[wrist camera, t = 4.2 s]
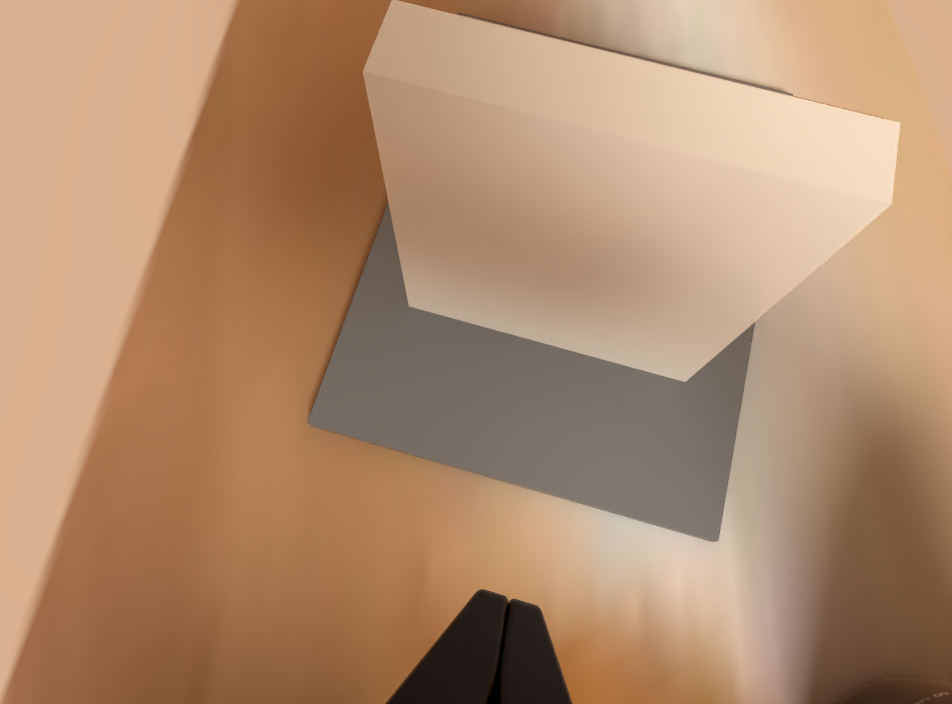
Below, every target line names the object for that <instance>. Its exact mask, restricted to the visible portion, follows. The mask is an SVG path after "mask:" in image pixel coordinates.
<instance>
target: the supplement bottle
mask: <svg viewBox="0 0 952 704" xmlns="http://www.w3.org/2000/svg"><path fill="white" fill-rule="evenodd" d="M839 704H952V683H948V682H943V681H938V680H934V679H929V678H922V677H913V676H899V677H890V678H885V679H881V680H878V681H875V682H872V683H869V684H867V685H865V686H862V687H860V688H859V689H857V690H855V691H854V692H852V693H851V694H849V695H848V696H847V697H846V698H845V699H843V700H842V701H841V702H840V703H839Z"/></svg>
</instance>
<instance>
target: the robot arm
mask: <svg viewBox="0 0 952 704" xmlns="http://www.w3.org/2000/svg"><path fill="white" fill-rule="evenodd" d="M386 704H572V701H571V698H570V695H569V692H568V689H567V686H566V683H565V680H564V677H563V674H562V671H561V668H560V665H559V662H558V659H557V656H556V653H555V650H554V647H553V644H552V641H551V638H550V635H549V632H548V629H547V626H546V623H545V620H544V617H543V614H542V611H541V609H540V608H539V607H538V606H536V605H534V604H530V603H527V602H524V601H520V600H517V599H512V600H510V601H509V602H508V599H507V597H506V596H504V595H500V594H497V593H494V592H490V591H487V590H483V589H481V590H479V591H477V592H476V593H475V594H474V595H473V597H472V598H471V599H470V600H469V602H468V603H467V604H466V605H465V607H464V608H463V609H462V610H461V611H460V613H459V614H458V615H457V616H456V618H455V619H454V620H453V621H452V623H451V624H450V625H449V626H448V627H447V629H446V630H445V631H444V632H443V634H442V635H441V636H440V637H439V638H438V640H437V641H436V642H435V643H434V645H433V646H432V647H431V648H430V650H429V651H428V652H427V653H426V654H425V656H424V657H423V658H422V659H421V661H420V662H419V663H418V664H417V666H416V667H415V668H414V669H413V670H412V672H411V673H410V674H409V675H408V677H407V678H406V679H405V680H404V681H403V683H402V684H401V685H400V686H399V688H398V689H397V690H396V691H395V693H394V694H393V695H392V696H391V697H390V699H389V700H388V701H387V702H386Z"/></svg>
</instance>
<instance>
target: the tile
mask: <svg viewBox="0 0 952 704" xmlns="http://www.w3.org/2000/svg"><path fill="white" fill-rule="evenodd" d="M363 75H364V81H365V86H366V91H367V96H368V101H369V106H370V111H371V116H372V121H373V126H374V131H375V136H376V142H377V147H378V152H379V157H380V162H381V167H382V172H383V177H384V182H385V187H386V192H387V198H388V203H389V208H390V213H391V218H392V223H393V228H394V233H395V238H396V243H397V248H398V253H399V259H400V264H401V269H402V274H403V279H404V284H405V289H406V294H407V299H408V304H409V307H413V308H417V309H420V310H424V311H428V312H431V313H435V314H439V315H442V316H446V317H449V318H453V319H457V320H460V321H464V322H468V323H471V324H475V325H479V326H482V327H486V328H490V329H493V330H497V331H501V332H504V333H508V334H512V335H515V336H519V337H522V338H526V339H530V340H533V341H537V342H541V343H544V344H548V345H552V346H555V347H559V348H563V349H566V350H570V351H574V352H577V353H581V354H585V355H588V356H592V357H595V358H599V359H603V360H606V361H610V362H614V363H617V364H621V365H625V366H628V367H632V368H636V369H639V370H643V371H647V372H650V373H654V374H658V375H661V376H665V377H668V378H672V379H676V380H679V381H683V382H686V381H687V380H688V379H689V378H690V377H692V376H693V375H694V374H695V373H696V372H697V371H699V370H700V369H701V368H702V367H703V366H704V365H705V364H707V363H708V362H709V361H710V360H711V359H712V358H714V357H715V356H716V355H717V354H718V353H719V352H721V351H722V350H723V349H724V348H725V347H726V346H728V345H729V344H730V343H731V342H732V341H733V340H735V339H736V338H737V337H738V336H739V335H740V334H741V333H743V332H744V331H745V330H746V329H747V328H748V327H750V326H751V325H752V324H753V323H754V322H755V321H757V320H758V319H759V318H760V317H761V316H762V315H764V314H765V313H766V312H767V311H768V310H769V309H771V308H772V307H773V306H774V305H775V304H776V303H777V302H779V301H780V300H781V299H782V298H783V297H784V296H786V295H787V294H788V293H789V292H790V291H791V290H793V289H794V288H795V287H796V286H797V285H798V284H800V283H801V282H802V281H803V280H804V279H805V278H807V277H808V276H809V275H810V274H811V273H812V272H813V271H815V270H816V269H817V268H818V267H819V266H820V265H822V264H823V263H824V262H825V261H826V260H827V259H829V258H830V257H831V256H832V255H833V254H834V253H836V252H837V251H838V250H839V249H840V248H841V247H843V246H844V245H845V244H846V243H847V242H848V241H849V240H851V239H852V238H853V237H854V236H855V235H856V234H858V233H859V232H860V231H861V230H862V229H863V228H865V227H866V226H867V225H868V224H869V223H870V222H872V221H873V220H874V219H875V218H876V217H877V216H879V215H880V214H881V213H882V212H883V211H884V210H885V209H887V208H888V207H889V206H890V205H891V204H892V196H893V187H894V177H895V168H896V159H897V149H898V140H899V131H900V123H899V122H895V121H891V120H887V119H884V118H881V117H877V116H873V115H869V114H865V113H861V112H856V111H852V110H848V109H844V108H840V107H836V106H832V105H828V104H824V103H819V102H815V101H811V100H807V99H803V98H799V97H795V96H791V95H787V94H783V93H778V92H774V91H770V90H766V89H762V88H758V87H754V86H750V85H746V84H741V83H737V82H733V81H729V80H725V79H721V78H717V77H713V76H709V75H704V74H700V73H696V72H692V71H688V70H684V69H680V68H676V67H672V66H667V65H663V64H659V63H655V62H651V61H647V60H643V59H639V58H635V57H631V56H626V55H622V54H618V53H614V52H610V51H606V50H602V49H598V48H594V47H589V46H585V45H581V44H577V43H573V42H569V41H565V40H561V39H557V38H552V37H548V36H544V35H540V34H536V33H532V32H528V31H524V30H520V29H515V28H511V27H507V26H503V25H499V24H495V23H491V22H487V21H483V20H478V19H474V18H470V17H466V16H462V15H458V14H454V13H450V12H446V11H442V10H437V9H433V8H429V7H425V6H421V5H417V4H413V3H409V2H402V1H398V0H392V1H391V3H390V6H389V8H388V10H387V13H386V15H385V18H384V20H383V23H382V25H381V28H380V30H379V32H378V35H377V37H376V40H375V42H374V45H373V47H372V50H371V52H370V54H369V57H368V59H367V62H366V64H365V67H364V69H363Z"/></svg>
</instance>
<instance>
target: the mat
mask: <svg viewBox="0 0 952 704" xmlns="http://www.w3.org/2000/svg"><path fill="white" fill-rule="evenodd" d="M458 15H462V16H466V17H470V18H474V19H478V20H483V21H487V22H491V23H495V24H499V25H503V26H507V27H511V28H515V29H520V30H524V31H528V32H532V33H536V34H540V35H544V36H548V37H552V38H557V39H561V40H565V41H569V42H573V43H577V44H581V45H585V46H589V47H594V48H598V49H602V50H606V51H610V52H614V53H618V54H622V55H626V56H631V57H635V58H639V59H643V60H647V61H651V62H655V63H659V64H663V65H667V66H672V67H676V68H680V69H684V70H688V71H692V72H696V73H700V74H704V75H709V76H713V77H717V78H721V79H725V80H729V81H733V82H737V83H741V84H746V85H750V86H754V87H758V88H762V89H766V90H770V91H774V92H778V93H783V94H787V95H791V96H793V94H791V93H787V92H783V91H778V90H774V89H770V88H766V87H762V86H758V85H754V84H750V83H746V82H741V81H737V80H733V79H729V78H725V77H721V76H717V75H713V74H709V73H704V72H700V71H696V70H692V69H688V68H684V67H680V66H676V65H672V64H667V63H663V62H659V61H655V60H651V59H647V58H643V57H639V56H634V55H630V54H626V53H622V52H618V51H614V50H610V49H606V48H602V47H597V46H593V45H589V44H585V43H581V42H577V41H573V40H569V39H565V38H560V37H556V36H552V35H548V34H544V33H540V32H536V31H532V30H528V29H523V28H519V27H515V26H511V25H507V24H503V23H499V22H495V21H491V20H486V19H482V18H478V17H474V16H470V15H466V14H462V13H458ZM754 324H755V322H754V323H753V324H752V325H751V326H750V327H748V328H747V329H746V330H745V331H744V332H743V333H741V334H740V335H739V336H738V337H737V338H736V339H735V340H733V341H732V342H731V343H730V344H729V345H728V346H726V347H725V348H724V349H723V350H722V351H721V352H719V353H718V354H717V355H716V356H715V357H714V358H712V359H711V360H710V361H709V362H708V363H707V364H705V365H704V366H703V367H702V368H701V369H700V370H699V371H697V372H696V373H695V374H694V375H693V376H692V377H690V378H689V379H688V380H687V381H686V382H683V381H679V380H676V379H672V378H668V377H665V376H661V375H658V374H654V373H650V372H647V371H643V370H639V369H636V368H632V367H628V366H625V365H621V364H617V363H614V362H610V361H606V360H603V359H599V358H595V357H592V356H588V355H585V354H581V353H577V352H574V351H570V350H566V349H563V348H559V347H555V346H552V345H548V344H544V343H541V342H537V341H533V340H530V339H526V338H522V337H519V336H515V335H512V334H508V333H504V332H501V331H497V330H493V329H490V328H486V327H482V326H479V325H475V324H471V323H468V322H464V321H460V320H457V319H453V318H449V317H446V316H442V315H439V314H435V313H431V312H428V311H424V310H420V309H417V308H413V307H409V304H408V299H407V294H406V289H405V284H404V279H403V274H402V269H401V264H400V259H399V253H398V248H397V243H396V238H395V233H394V228H393V223H392V218H391V213H390V208H389V203H388V205H387V207H386V210H385V213H384V216H383V218H382V221H381V224H380V226H379V229H378V232H377V235H376V237H375V240H374V243H373V245H372V248H371V251H370V254H369V256H368V259H367V262H366V264H365V267H364V270H363V273H362V275H361V278H360V281H359V283H358V286H357V289H356V292H355V294H354V297H353V300H352V303H351V305H350V308H349V311H348V313H347V316H346V319H345V322H344V324H343V327H342V330H341V332H340V335H339V338H338V341H337V343H336V346H335V349H334V351H333V354H332V357H331V360H330V362H329V365H328V368H327V370H326V373H325V376H324V379H323V381H322V384H321V387H320V389H319V392H318V395H317V398H316V400H315V403H314V406H313V409H312V411H311V414H310V417H309V419H308V422H307V423H308V424H309V425H310V426H313V427H317V428H320V429H324V430H327V431H331V432H334V433H338V434H341V435H344V436H348V437H351V438H355V439H358V440H362V441H365V442H369V443H372V444H376V445H379V446H383V447H386V448H389V449H393V450H396V451H400V452H403V453H407V454H410V455H414V456H417V457H421V458H424V459H428V460H431V461H434V462H438V463H441V464H445V465H448V466H452V467H455V468H459V469H462V470H466V471H469V472H473V473H476V474H479V475H483V476H486V477H490V478H493V479H497V480H500V481H504V482H507V483H511V484H514V485H518V486H521V487H524V488H528V489H531V490H535V491H538V492H542V493H545V494H549V495H552V496H556V497H559V498H563V499H566V500H570V501H573V502H576V503H580V504H583V505H587V506H590V507H594V508H597V509H601V510H604V511H608V512H611V513H615V514H618V515H621V516H625V517H628V518H632V519H635V520H639V521H642V522H646V523H649V524H653V525H656V526H660V527H663V528H666V529H670V530H673V531H677V532H680V533H684V534H687V535H691V536H694V537H698V538H701V539H705V540H708V541H711V542H716V541H718V539H719V533H720V527H721V521H722V515H723V509H724V503H725V497H726V491H727V485H728V479H729V473H730V467H731V462H732V456H733V450H734V444H735V438H736V432H737V426H738V420H739V414H740V408H741V402H742V396H743V390H744V384H745V378H746V372H747V366H748V360H749V354H750V348H751V342H752V336H753V330H754Z"/></svg>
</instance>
